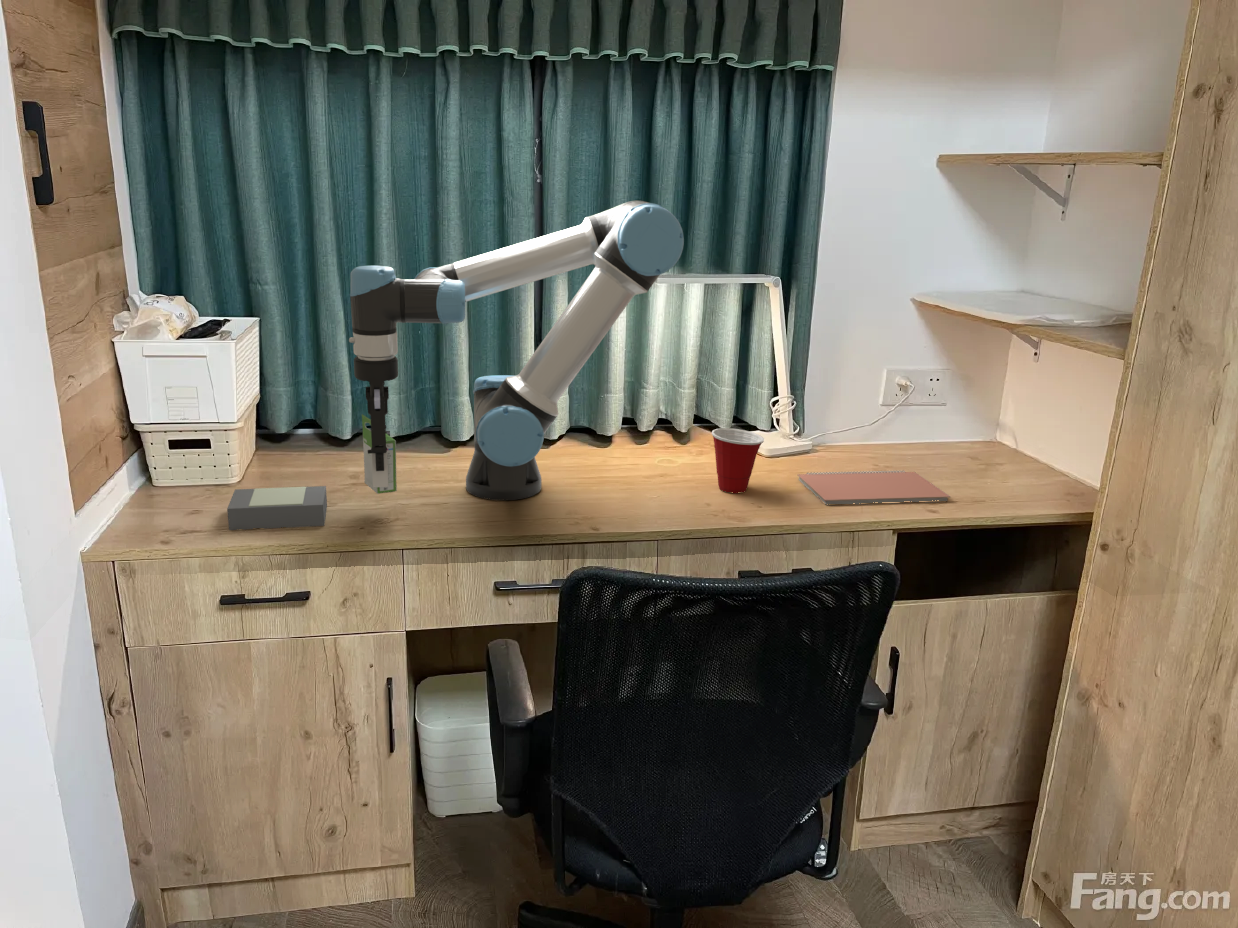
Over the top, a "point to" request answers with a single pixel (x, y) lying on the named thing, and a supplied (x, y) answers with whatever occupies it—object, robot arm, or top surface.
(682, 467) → the top surface
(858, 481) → the notebook
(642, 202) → the robot arm
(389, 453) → the ink box
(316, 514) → the plinth
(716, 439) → the plastic cup
